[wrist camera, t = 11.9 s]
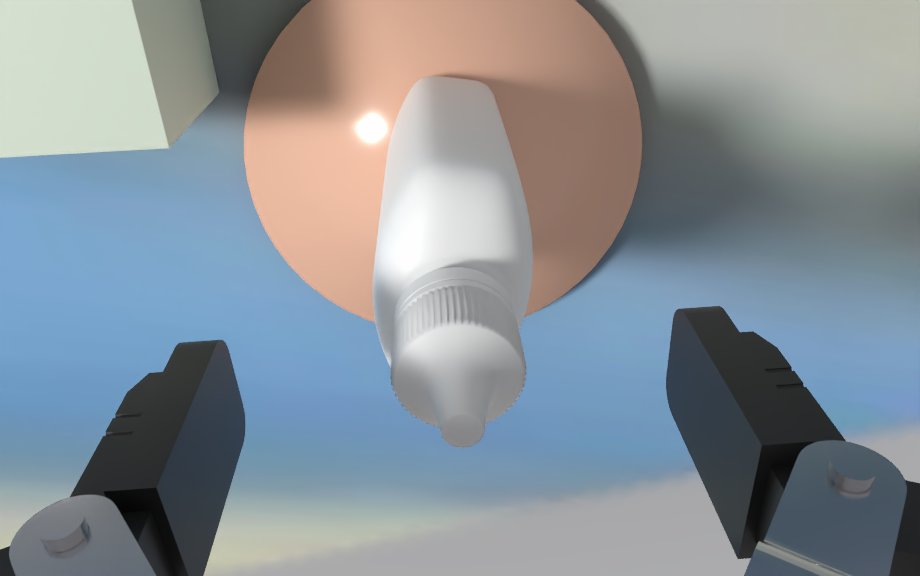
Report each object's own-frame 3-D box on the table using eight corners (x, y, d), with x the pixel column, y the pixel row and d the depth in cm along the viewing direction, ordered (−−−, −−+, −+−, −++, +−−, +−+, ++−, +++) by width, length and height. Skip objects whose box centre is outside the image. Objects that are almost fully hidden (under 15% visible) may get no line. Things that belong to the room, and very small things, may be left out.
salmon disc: (210, -37, 20) (202, -34, 19) (650, -64, 20) (658, -62, 19) (285, 332, 26) (281, 344, 25) (623, 309, 26) (629, 322, 25)
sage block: (-12, -88, 19) (-140, -76, 15) (180, -98, 19) (108, -89, 15) (50, 101, 22) (-44, 159, 17) (220, 92, 22) (168, 148, 17)
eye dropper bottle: (557, 133, 22) (682, 375, 11) (447, 269, 24) (468, 578, 13) (437, 45, 20) (454, 229, 10) (332, 198, 22) (255, 482, 12)
